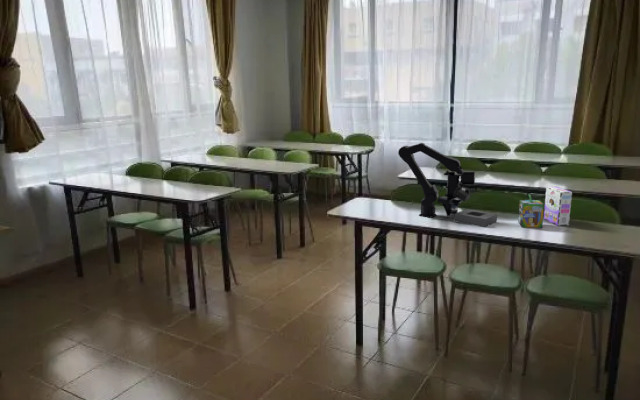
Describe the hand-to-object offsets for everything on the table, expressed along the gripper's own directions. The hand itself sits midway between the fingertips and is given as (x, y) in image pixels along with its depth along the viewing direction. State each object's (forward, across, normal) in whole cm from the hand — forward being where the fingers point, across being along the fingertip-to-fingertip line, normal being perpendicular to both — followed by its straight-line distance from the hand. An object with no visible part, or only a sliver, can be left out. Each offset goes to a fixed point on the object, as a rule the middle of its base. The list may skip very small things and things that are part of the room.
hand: (451, 214), depth 249 cm
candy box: (+2, +25, -42) cm, 49 cm away
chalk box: (+2, +11, -35) cm, 37 cm away
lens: (+2, 0, 0) cm, 2 cm away
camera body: (+2, 0, -13) cm, 13 cm away
